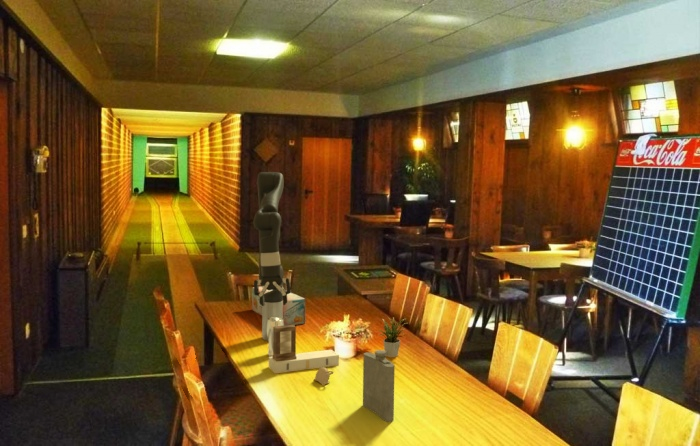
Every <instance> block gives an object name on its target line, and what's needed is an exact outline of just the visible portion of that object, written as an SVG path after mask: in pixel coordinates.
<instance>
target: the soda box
mask: <svg viewBox="0 0 700 446" xmlns="http://www.w3.org/2000/svg"><path fill="white" fill-rule="evenodd" d="M263 287H264V286H262V285H261V286H259V292H261V290H262V289H263ZM270 291H272V290H266V291H265V293H267V292H270ZM265 293H264V294H265ZM251 295H252V296H251V297H252V302H251V303H252V311H254V313H256V314H258V315H260V316H262V305H260V297H259V296H257V295H254V286H252V287H251ZM287 301H288V302H287V303H286V305H283V322H284V325H294V326H295V325H305V324H306V298H304V297H302V296H300V295H298V294H296V293H293V292H291V293H289V294H287Z"/></svg>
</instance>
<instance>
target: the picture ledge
mask: <svg viewBox="0 0 700 446" xmlns="http://www.w3.org/2000/svg"><path fill="white" fill-rule="evenodd" d="M339 365H340V355H339V354H338V353H337V352H335V351H334V350H332V349H325V350H316V351H315V350H314V351H308V352H301V353H300V352H299V353H296V359H293V360H285V361H275V360H274V359H273V356H269V357H268V367H269V369H270V370H271V371H272V372H273V373H274V374H279V373H281V374H282V373H287V372H288V373H289V372H296V371H304V370H313V369H318V368H319V369H320V368H321V367H324V368H326V367H334V366H335V367H336V366H339Z"/></svg>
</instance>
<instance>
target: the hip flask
mask: <svg viewBox="0 0 700 446" xmlns="http://www.w3.org/2000/svg"><path fill="white" fill-rule="evenodd" d="M362 357H363V358H362V359H363V364H362V365H363V367H362V369H363V371H362V374H363V375H362V407H363V408H365V409H367V410H369V411H371V412H373V414H374V413H375V414H376V415H377V416H379V418H381V420H382V421H384V422H386V423H391V422H394V419H395V418H394V415H395V410H394V409H395V371H396V369H395V368H396V367H395V364H394V363H393V362H391V361H390V360H388V359H387V358H386V357H387V356H386V351H385V349H384V350H383V349H382V350H381V349H380V350H379V349H377V350H375V351H374V353H373V352H370V351H368V352H364V353H363V356H362Z"/></svg>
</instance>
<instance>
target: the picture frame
mask: <svg viewBox="0 0 700 446" xmlns="http://www.w3.org/2000/svg"><path fill="white" fill-rule="evenodd" d="M296 329H297V328H296V326H295V325H284V326H274V327H273V359H274V360H275V361H285V360H293V359H296V354H297V353H296V349H297V348H296V347H297V346H296V344H297V341H296V339H297V337H296V336H297V335H296V333H297V332H296V331H297V330H296Z"/></svg>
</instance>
